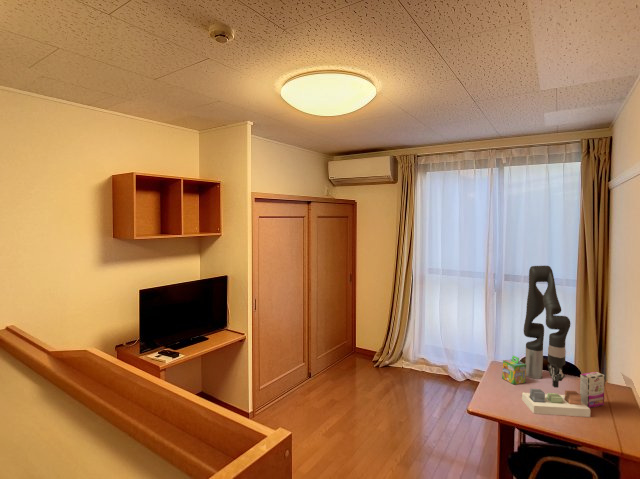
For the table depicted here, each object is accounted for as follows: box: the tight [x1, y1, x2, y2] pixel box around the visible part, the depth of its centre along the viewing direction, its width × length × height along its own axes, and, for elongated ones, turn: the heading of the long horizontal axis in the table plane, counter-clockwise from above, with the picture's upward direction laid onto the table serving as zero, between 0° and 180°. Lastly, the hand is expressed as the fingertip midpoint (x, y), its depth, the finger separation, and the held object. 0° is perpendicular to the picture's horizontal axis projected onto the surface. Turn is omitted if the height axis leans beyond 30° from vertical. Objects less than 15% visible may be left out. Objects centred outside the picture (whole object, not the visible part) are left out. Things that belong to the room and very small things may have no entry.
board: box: [521, 392, 591, 418], centre depth 187 cm, size 14×26×4 cm, turn 83°
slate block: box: [529, 388, 546, 403], centre depth 188 cm, size 5×5×6 cm
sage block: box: [546, 392, 563, 404], centre depth 187 cm, size 5×5×6 cm
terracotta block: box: [564, 390, 581, 405], centre depth 186 cm, size 5×5×6 cm
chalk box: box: [501, 355, 527, 385], centre depth 218 cm, size 9×9×15 cm
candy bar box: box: [579, 371, 606, 409], centre depth 190 cm, size 11×5×16 cm, turn 105°
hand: (555, 386), depth 187 cm, fingers closed
